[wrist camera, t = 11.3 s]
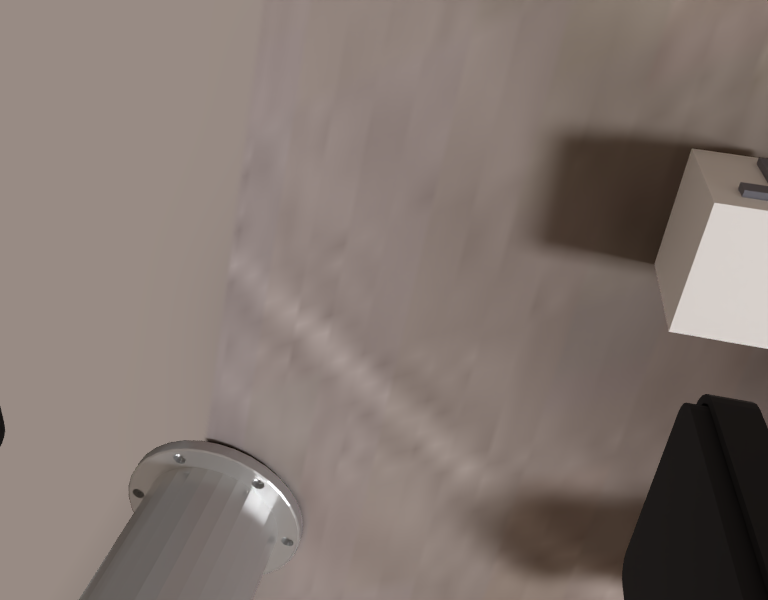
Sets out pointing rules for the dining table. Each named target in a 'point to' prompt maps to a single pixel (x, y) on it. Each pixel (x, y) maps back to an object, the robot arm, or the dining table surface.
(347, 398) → the dining table surface
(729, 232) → the lettered cube
